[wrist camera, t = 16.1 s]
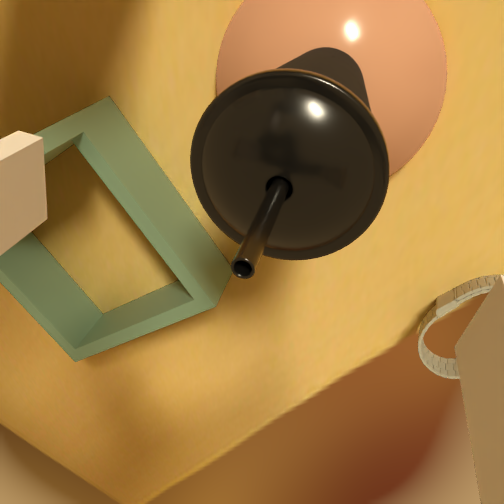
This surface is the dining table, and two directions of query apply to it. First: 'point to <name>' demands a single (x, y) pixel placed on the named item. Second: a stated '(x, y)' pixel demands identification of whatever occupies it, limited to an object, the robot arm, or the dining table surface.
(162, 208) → the frame
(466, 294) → the wristwatch
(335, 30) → the saucer
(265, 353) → the dining table surface
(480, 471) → the robot arm
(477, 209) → the dining table surface
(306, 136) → the drinking cup
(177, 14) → the dining table surface
